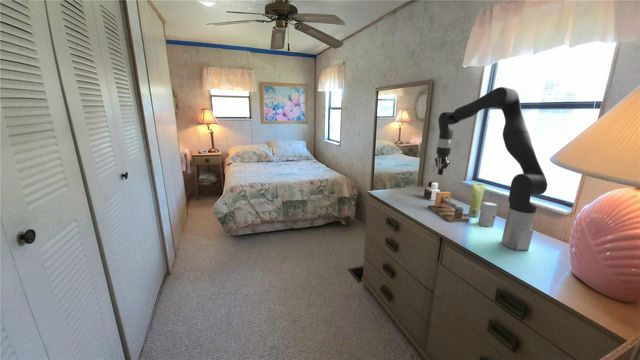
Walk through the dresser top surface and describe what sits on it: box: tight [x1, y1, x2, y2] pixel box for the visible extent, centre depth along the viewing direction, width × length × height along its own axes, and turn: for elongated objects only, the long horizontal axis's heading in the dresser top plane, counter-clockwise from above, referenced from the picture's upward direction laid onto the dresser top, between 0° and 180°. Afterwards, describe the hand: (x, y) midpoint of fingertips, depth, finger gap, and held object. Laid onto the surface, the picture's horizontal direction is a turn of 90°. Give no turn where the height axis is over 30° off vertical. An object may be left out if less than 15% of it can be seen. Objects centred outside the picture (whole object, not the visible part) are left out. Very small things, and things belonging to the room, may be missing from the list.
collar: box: [434, 191, 452, 207], centre depth 156 cm, size 2×8×8 cm, turn 97°
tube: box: [467, 183, 487, 218], centre depth 148 cm, size 6×5×20 cm
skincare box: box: [477, 201, 498, 228], centre depth 137 cm, size 6×4×12 cm
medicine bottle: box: [423, 181, 441, 201], centre depth 178 cm, size 7×7×12 cm
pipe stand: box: [427, 197, 470, 223], centre depth 151 cm, size 22×12×9 cm, turn 7°
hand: (440, 174), depth 159 cm, fingers closed
